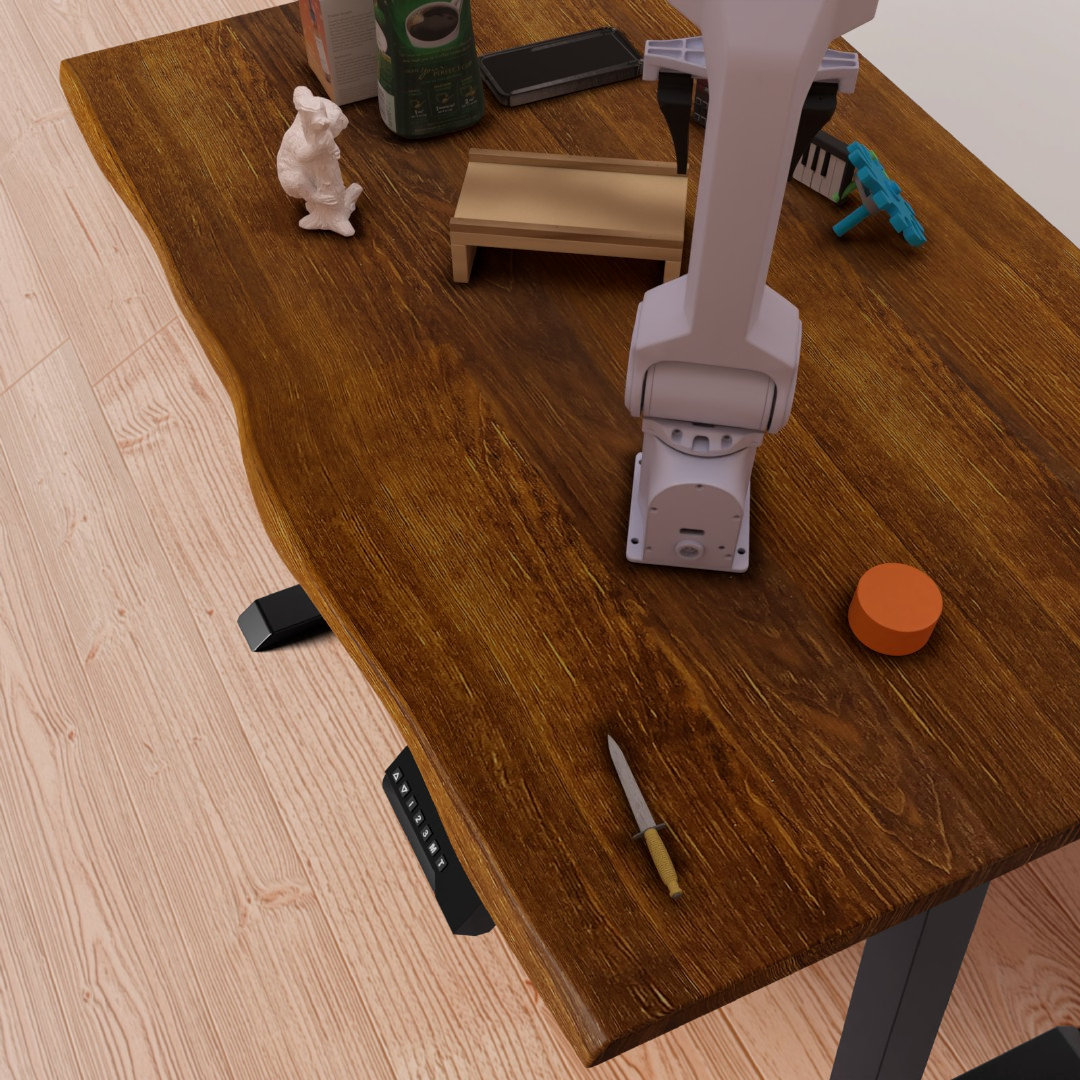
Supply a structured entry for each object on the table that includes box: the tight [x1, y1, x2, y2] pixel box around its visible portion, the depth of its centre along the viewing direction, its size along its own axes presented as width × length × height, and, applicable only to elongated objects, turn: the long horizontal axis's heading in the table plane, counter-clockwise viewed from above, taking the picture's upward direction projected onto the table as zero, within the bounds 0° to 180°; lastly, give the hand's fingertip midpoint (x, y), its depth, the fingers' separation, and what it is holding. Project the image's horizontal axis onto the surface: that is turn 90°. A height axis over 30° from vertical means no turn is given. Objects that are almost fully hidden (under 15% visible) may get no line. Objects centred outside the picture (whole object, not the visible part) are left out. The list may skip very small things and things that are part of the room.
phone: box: [478, 26, 644, 107], centre depth 112 cm, size 8×1×15 cm
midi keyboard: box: [691, 79, 856, 206], centre depth 102 cm, size 18×1×5 cm, turn 42°
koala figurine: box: [276, 85, 364, 237], centre depth 94 cm, size 8×7×12 cm
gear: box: [832, 140, 928, 248], centre depth 96 cm, size 11×6×10 cm
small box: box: [297, 0, 378, 107], centre depth 108 cm, size 8×6×10 cm
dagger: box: [607, 733, 683, 900], centre depth 65 cm, size 11×1×2 cm
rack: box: [448, 147, 690, 284], centre depth 94 cm, size 10×18×6 cm, turn 83°
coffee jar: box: [373, 0, 486, 140], centre depth 101 cm, size 10×8×19 cm
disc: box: [847, 562, 944, 657], centre depth 73 cm, size 5×5×3 cm
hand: (733, 170), depth 87 cm, fingers open, 7 cm apart
